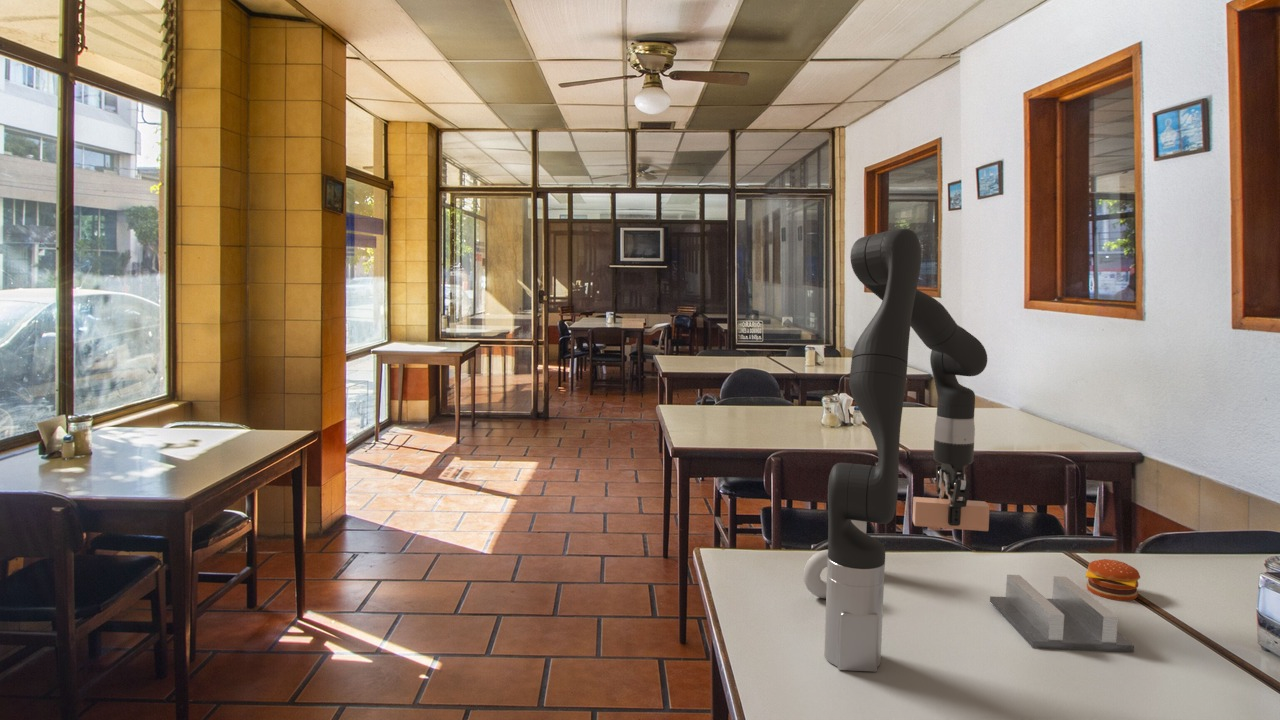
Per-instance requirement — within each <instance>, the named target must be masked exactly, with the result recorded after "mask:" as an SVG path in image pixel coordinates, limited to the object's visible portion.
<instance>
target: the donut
mask: <svg viewBox="0 0 1280 720" xmlns="http://www.w3.org/2000/svg"><path fill="white" fill-rule="evenodd" d="M827 565H828V549H823V550H819V551H817V552H815V553H814V554H812V555H811V556H810V557H809V559H807V561H806V564H805V565H804V569H803V573H802V574H803V582H804V585H805V587H806V588H807V590H808V591H809V593H811V594H812V595H814V596H815V597H818V598H820V599H826V590H827V580H826V581H825V580H822V579H821V573H822V571H823V570H824V569H826V568H827Z"/></svg>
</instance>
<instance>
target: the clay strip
mask: <svg viewBox="0 0 1280 720" xmlns="http://www.w3.org/2000/svg"><path fill="white" fill-rule="evenodd" d="M912 500H913V501H912V523H913V525H914V527H926V528H938V529H953V530H965V531H966V530H967V531H979V532H989V528H990V526H989V525H990V507H991V506H990V505H989V504H988V503H987V502H986V501H983V500H982V501H981V500H969V499H967V504H966V507H962V508H961V519H960V525H959V526H951V525H949V524H948V511H949V500H948V499H940V497H938V498H937V497H921V496H913V499H912Z"/></svg>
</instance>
